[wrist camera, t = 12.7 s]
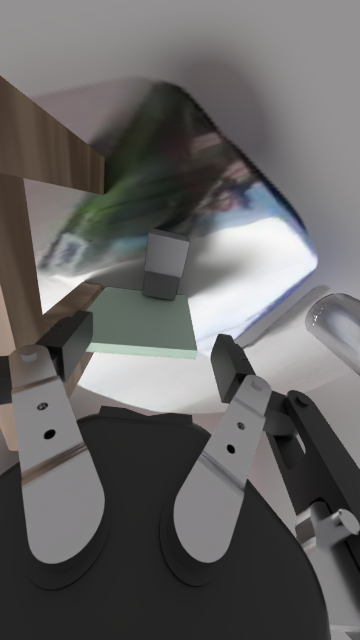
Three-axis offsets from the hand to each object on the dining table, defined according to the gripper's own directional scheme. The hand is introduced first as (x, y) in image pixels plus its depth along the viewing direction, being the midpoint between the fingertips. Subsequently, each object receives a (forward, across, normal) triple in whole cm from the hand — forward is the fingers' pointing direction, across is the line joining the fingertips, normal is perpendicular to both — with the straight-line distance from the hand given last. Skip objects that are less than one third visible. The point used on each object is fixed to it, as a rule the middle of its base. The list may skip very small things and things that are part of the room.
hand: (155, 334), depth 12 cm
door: (+21, +2, +7) cm, 22 cm away
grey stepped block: (+21, 0, 0) cm, 21 cm away
